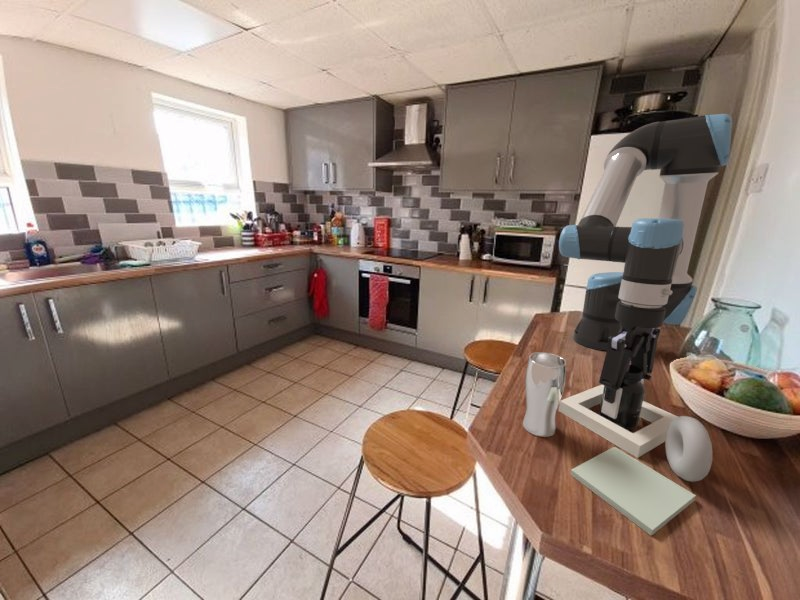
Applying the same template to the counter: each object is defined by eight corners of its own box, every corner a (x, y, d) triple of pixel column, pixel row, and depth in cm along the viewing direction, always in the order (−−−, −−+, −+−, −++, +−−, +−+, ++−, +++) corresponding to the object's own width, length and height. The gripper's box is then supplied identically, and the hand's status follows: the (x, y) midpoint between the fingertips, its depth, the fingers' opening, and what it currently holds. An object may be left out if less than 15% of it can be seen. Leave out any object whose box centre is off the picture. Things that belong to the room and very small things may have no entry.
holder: (602, 392, 79) (604, 383, 79) (682, 430, 66) (685, 420, 65) (558, 410, 72) (559, 400, 71) (637, 458, 58) (640, 446, 58)
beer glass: (512, 421, 68) (520, 355, 64) (538, 413, 71) (546, 349, 67) (538, 442, 62) (548, 370, 58) (565, 433, 65) (576, 363, 61)
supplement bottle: (644, 433, 65) (656, 378, 62) (605, 428, 66) (616, 374, 63) (628, 412, 71) (638, 362, 68) (593, 409, 73) (602, 359, 70)
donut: (707, 499, 50) (724, 443, 47) (679, 492, 51) (694, 437, 49) (680, 455, 59) (694, 406, 56) (657, 450, 60) (669, 402, 58)
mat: (613, 451, 60) (614, 446, 60) (694, 500, 50) (695, 495, 50) (570, 474, 55) (571, 469, 54) (651, 535, 44) (652, 530, 44)
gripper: (632, 315, 54) (609, 435, 61) (691, 301, 63) (665, 406, 69) (589, 304, 61) (572, 413, 67) (648, 292, 70) (628, 389, 76)
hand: (619, 409), depth 68 cm, fingers closed on supplement bottle, 7 cm apart
